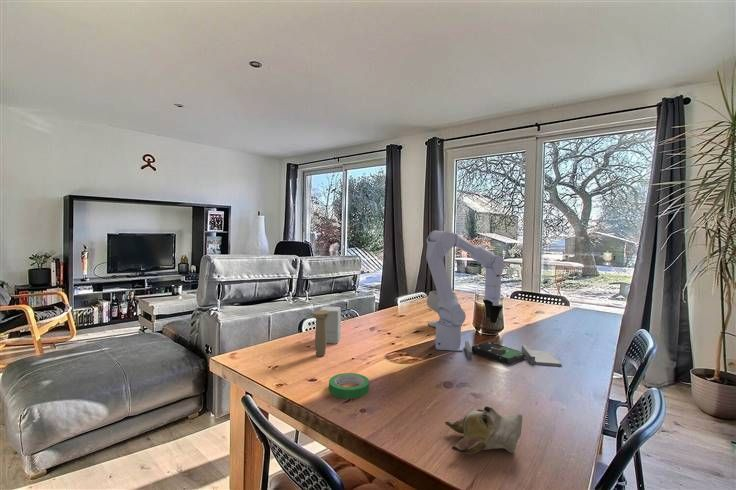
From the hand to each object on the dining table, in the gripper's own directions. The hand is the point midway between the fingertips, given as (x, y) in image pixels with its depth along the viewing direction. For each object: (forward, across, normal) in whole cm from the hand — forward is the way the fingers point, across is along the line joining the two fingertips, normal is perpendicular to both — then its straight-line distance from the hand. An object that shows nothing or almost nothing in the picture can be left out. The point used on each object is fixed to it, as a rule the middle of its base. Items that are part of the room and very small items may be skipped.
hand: (491, 320), depth 140 cm
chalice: (+9, +21, +18) cm, 29 cm away
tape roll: (+9, -50, +46) cm, 69 cm away
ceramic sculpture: (+9, -70, +13) cm, 72 cm away
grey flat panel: (+9, -14, -4) cm, 17 cm away
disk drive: (+10, -14, 0) cm, 17 cm away
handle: (+9, -27, +61) cm, 67 cm away
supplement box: (+9, -11, +62) cm, 64 cm away
